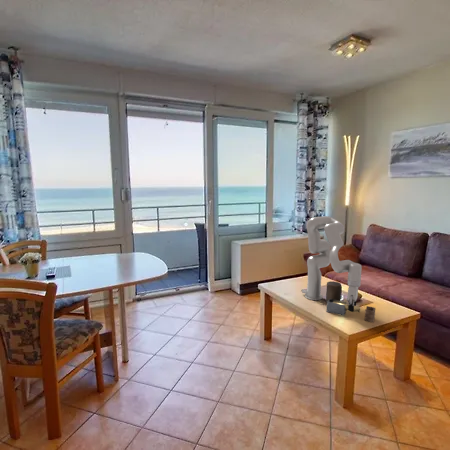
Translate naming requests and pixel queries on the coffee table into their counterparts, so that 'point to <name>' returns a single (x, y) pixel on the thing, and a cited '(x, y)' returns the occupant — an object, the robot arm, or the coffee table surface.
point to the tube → (356, 308)
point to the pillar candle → (333, 290)
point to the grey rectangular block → (336, 307)
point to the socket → (369, 314)
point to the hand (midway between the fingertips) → (352, 308)
